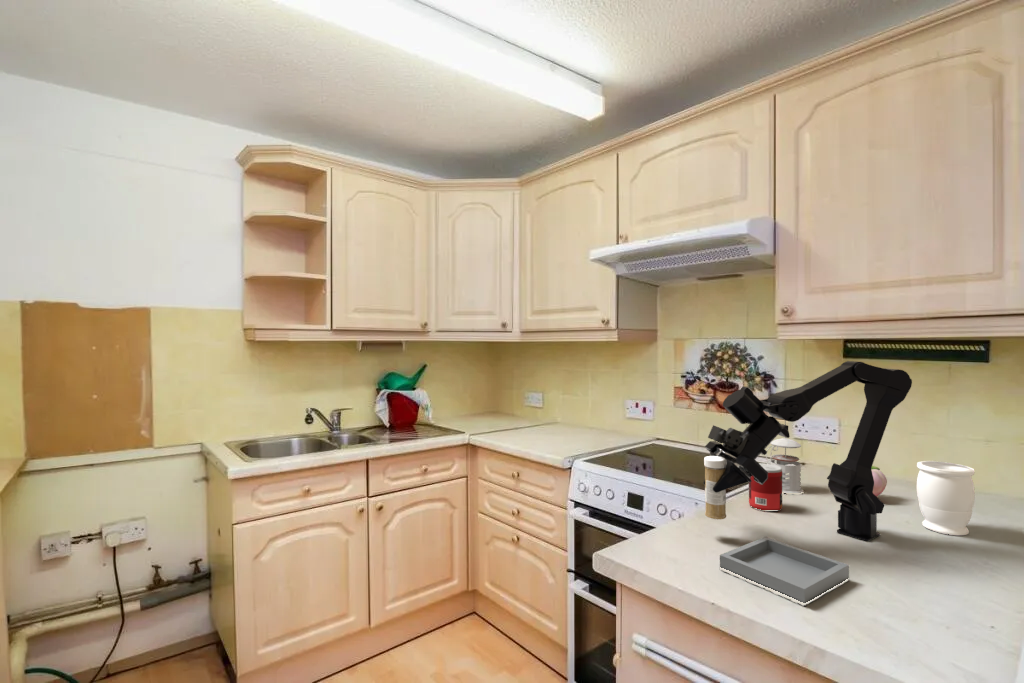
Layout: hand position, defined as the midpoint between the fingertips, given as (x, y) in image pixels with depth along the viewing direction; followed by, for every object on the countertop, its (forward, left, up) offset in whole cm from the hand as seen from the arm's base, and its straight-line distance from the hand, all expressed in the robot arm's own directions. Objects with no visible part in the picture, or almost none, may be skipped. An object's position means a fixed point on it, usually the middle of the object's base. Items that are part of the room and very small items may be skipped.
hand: (709, 487), depth 113 cm
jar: (-28, -50, -12) cm, 58 cm away
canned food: (+4, -30, -12) cm, 33 cm away
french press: (+10, -50, -12) cm, 53 cm away
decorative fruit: (-8, -60, -12) cm, 62 cm away
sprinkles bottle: (-1, -1, -7) cm, 7 cm away
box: (-19, +4, -11) cm, 22 cm away
